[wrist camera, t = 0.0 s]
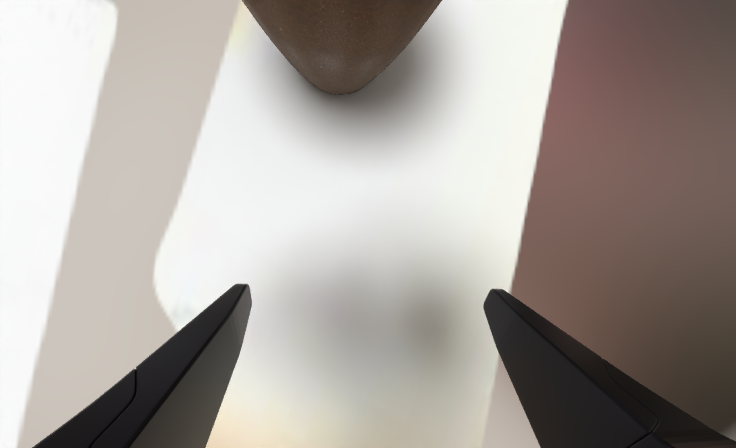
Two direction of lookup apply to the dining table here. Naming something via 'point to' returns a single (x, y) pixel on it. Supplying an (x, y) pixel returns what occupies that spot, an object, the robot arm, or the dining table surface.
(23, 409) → the dining table surface
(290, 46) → the plant pot
